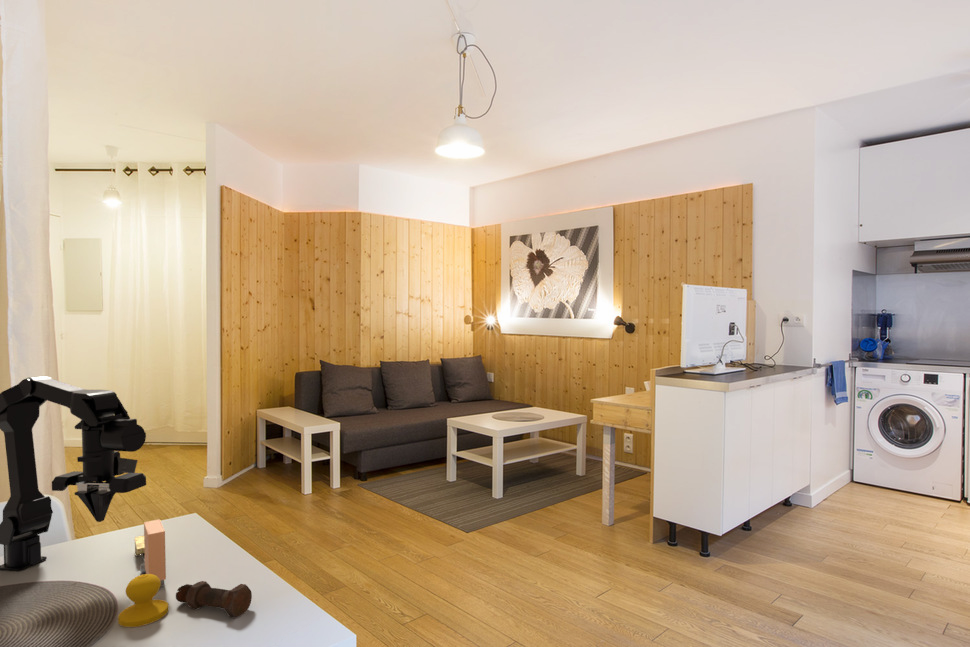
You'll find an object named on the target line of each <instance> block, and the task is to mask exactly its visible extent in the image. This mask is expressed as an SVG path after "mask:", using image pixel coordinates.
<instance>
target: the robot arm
mask: <svg viewBox="0 0 970 647" xmlns="http://www.w3.org/2000/svg"><path fill="white" fill-rule="evenodd" d="M46 402H50V403H54V404H57V405H60V406H63V407H66V408H67V409H69V411H70V414H71V415H73V416H74V417H76V418H78V419H79V420H80V421H79V422H77V423H76V425H74V429H75V430H81V446H82V447H81V448H82V449H81V450H82V452H81V454H82V455H80V456H77V463H82V471H74V470H73V471H70V472H66V473H64V474H60V475H57V476H55V477H54V478H53V480H52V481H51V492H63V491H65V490H66V489H67V488H68V487H69V486H77V491H75V492H74V495H75V496H77V497H78V498H79V499H80V500H81V502H82V503H83V504H84V505H85V507H86V508H87V510H88V511H89V512H90V514H91V515H92V517H93V519H94V520H95V521H96V522H97V523H101V522H104V521H105V518H106V516H107V513H108V510H109V507H110V505H111V503H112V500H113V499H114V496H115V495H116V494H126V493H130V492H131V491H132V492H133V491H134V490H137V489H140V488H143V487H145V486H147V476H146V475H145V474H144V473H142V472H136V468H137V465H138V459H132V458H126V457H121V452H130V453H132V452H133V453H134V452H137V451H138V450H140V449H141V448H142V447H143V446H144V444H145V442H146V439H147V433H146V431H145V430H144V427H143V426H141V425H139V424H138V419H137V418H131V416H130V415H129V413H128V411H127V409H126V408H125V407H124V405H123V404H122V402H121V400H120V398H119V397H118V396H117V393H116V392H115V391H114V390H109V389H85V388H82V387H79V386H75V385H72V384H69V383H66V382H63V381H60V380H57V379H53V378H52V377H50V376H46V375H41V376H31V377H26V378H23V379H22V380H21V381H20V382H19V383H18V384H16V385H13V386H11V387H10V388H7V389H5V390H3V391H1V392H0V430H1V432H2V433H3V434H4V443H5V446H4V447H5V454H6V456H5V457H6V466H7V473H8V484H9V492H10V496H9V498H8V500H7V502H6V504H5V506H4V507H3V509H2V521H1V523H0V545H3V563H2V564H0V570H2V571H4V570H6V571H19V572H20V571H23V570H25V569H28V568H30V567H31V566H33V565H36V564H38V563H40V562H43V561H45V560H47V558H48V557H47V556H43V555H42V543H41V538H40V535H41V534H45V533H47V532H48V531H49V528H50V526H51V520H52V517H53V513H54V510H53V509H52V499H51V497H50V496H45V495H44V494H43V493H42V492H41V491H40V490H39V489H40V488H39V482H38V472H37V463H36V454H35V446H34V445H35V443H34V434H33V428H34V426H35V425H36V422H37V421H38V419H39V417H40V408H41V407H42V406H43V405H44V404H45V403H46ZM115 476H116V477H115Z"/></svg>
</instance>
